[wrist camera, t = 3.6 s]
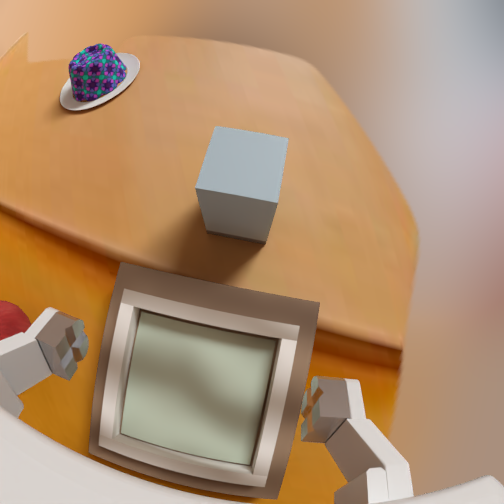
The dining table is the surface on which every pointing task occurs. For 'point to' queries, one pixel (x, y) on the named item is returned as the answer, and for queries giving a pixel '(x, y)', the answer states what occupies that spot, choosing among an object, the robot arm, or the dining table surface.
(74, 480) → the robot arm
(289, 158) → the dining table surface
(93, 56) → the purple and white hat
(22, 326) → the onion
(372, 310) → the dining table surface
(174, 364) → the tray
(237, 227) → the light blue-grey block
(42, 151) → the dining table surface
